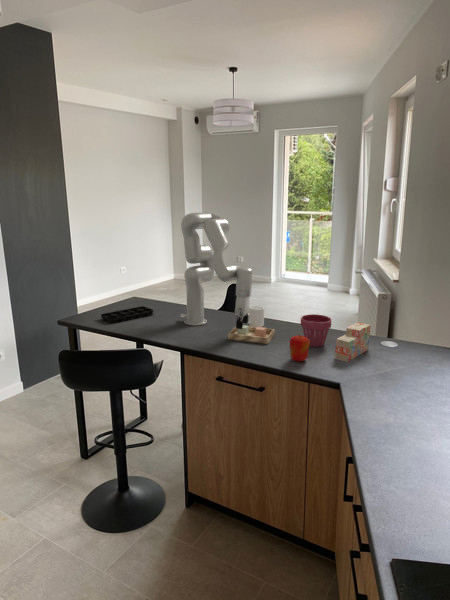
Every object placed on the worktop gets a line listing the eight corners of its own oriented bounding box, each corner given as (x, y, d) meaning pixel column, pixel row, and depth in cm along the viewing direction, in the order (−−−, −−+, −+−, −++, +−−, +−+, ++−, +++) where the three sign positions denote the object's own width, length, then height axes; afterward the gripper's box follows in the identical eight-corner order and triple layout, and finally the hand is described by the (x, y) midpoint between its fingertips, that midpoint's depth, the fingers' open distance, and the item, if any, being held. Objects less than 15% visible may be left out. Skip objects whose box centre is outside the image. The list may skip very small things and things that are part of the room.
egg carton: (157, 315, 253) (157, 308, 252) (118, 327, 229) (118, 320, 228) (136, 310, 263) (136, 304, 262) (97, 321, 239) (96, 315, 238)
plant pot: (295, 345, 202) (297, 319, 199) (303, 337, 214) (305, 312, 211) (326, 350, 196) (328, 323, 193) (332, 341, 208) (334, 316, 205)
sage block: (237, 335, 213) (237, 327, 212) (240, 333, 217) (240, 324, 216) (246, 336, 212) (246, 328, 211) (248, 334, 216) (248, 325, 215)
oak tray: (228, 339, 209) (228, 333, 208) (236, 330, 223) (236, 325, 222) (267, 344, 203) (268, 338, 202) (274, 334, 217) (274, 329, 216)
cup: (266, 326, 231) (267, 308, 229) (248, 329, 225) (249, 311, 223) (258, 322, 238) (258, 305, 236) (240, 325, 232) (240, 307, 230)
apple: (297, 365, 178) (299, 338, 175) (284, 358, 185) (285, 332, 182) (312, 361, 183) (314, 335, 180) (299, 355, 189) (300, 329, 187)
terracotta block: (254, 337, 210) (255, 329, 209) (257, 335, 214) (257, 326, 213) (263, 338, 209) (264, 330, 208) (265, 336, 213) (266, 327, 212)
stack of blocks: (347, 362, 182) (350, 335, 179) (334, 358, 186) (336, 332, 183) (368, 349, 197) (370, 324, 195) (355, 346, 202) (357, 321, 199)
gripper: (241, 288, 218) (239, 320, 223) (231, 295, 203) (229, 329, 207) (255, 289, 216) (253, 321, 221) (246, 297, 200) (244, 331, 205)
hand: (241, 325), depth 214 cm, fingers open, 9 cm apart
